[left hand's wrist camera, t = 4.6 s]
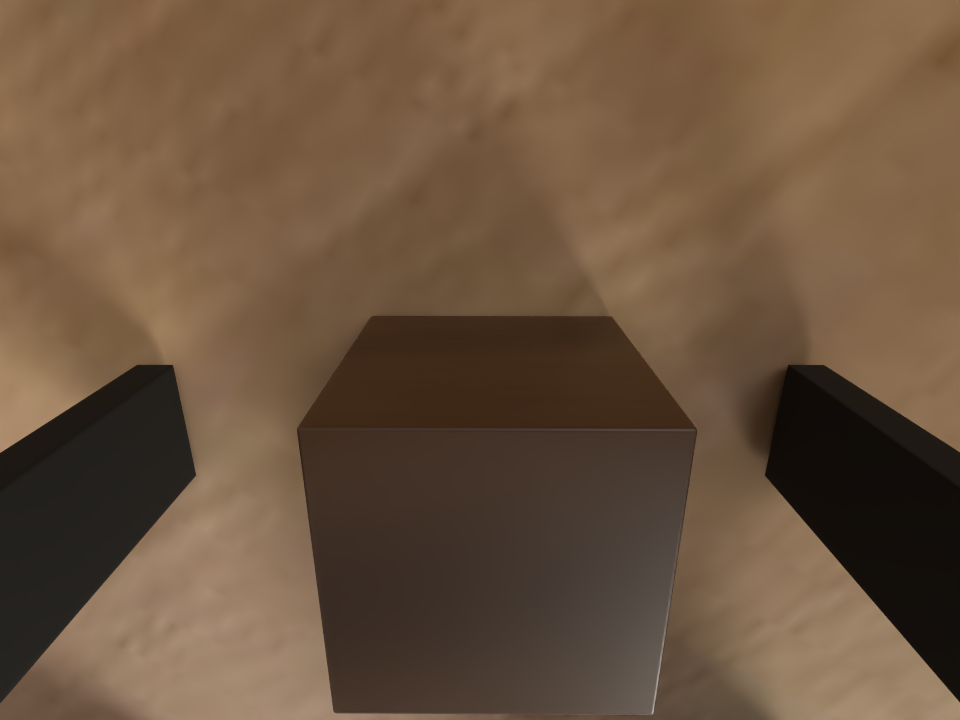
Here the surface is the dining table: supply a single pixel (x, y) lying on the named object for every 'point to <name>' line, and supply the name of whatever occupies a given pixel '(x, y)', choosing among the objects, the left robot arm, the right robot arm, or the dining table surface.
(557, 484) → the walnut cube
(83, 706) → the dining table surface
